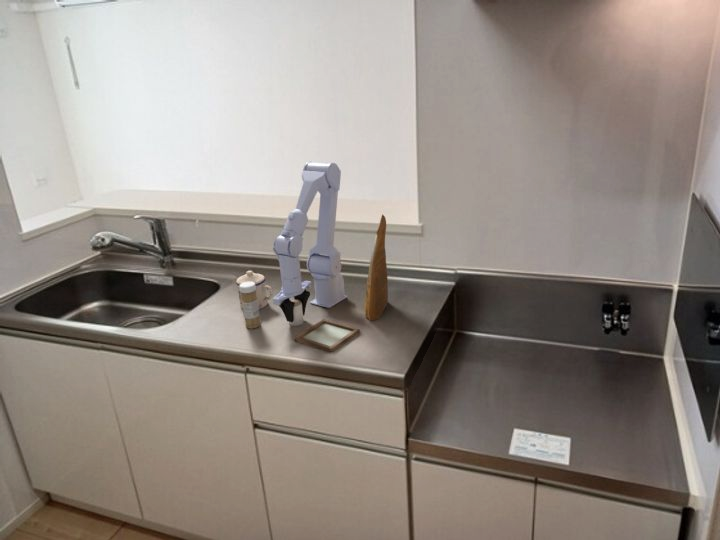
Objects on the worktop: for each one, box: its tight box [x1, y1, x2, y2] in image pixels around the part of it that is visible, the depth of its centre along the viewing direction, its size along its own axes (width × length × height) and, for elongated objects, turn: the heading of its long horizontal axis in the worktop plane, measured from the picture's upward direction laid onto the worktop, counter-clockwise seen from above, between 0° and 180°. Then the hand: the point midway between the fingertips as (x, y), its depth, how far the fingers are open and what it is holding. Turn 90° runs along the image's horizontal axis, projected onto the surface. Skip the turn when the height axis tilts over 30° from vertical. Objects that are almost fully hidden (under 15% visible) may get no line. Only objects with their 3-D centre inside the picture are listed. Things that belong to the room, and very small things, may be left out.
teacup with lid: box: [236, 270, 274, 310], centre depth 180 cm, size 12×9×12 cm
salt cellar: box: [288, 299, 305, 327], centre depth 168 cm, size 4×4×7 cm
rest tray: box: [294, 318, 361, 353], centre depth 159 cm, size 13×13×1 cm
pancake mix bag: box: [364, 213, 389, 322], centre depth 169 cm, size 7×19×28 cm, turn 165°
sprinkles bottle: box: [239, 282, 262, 329], centre depth 166 cm, size 5×5×14 cm
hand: (295, 317), depth 169 cm, fingers closed on salt cellar, 4 cm apart
